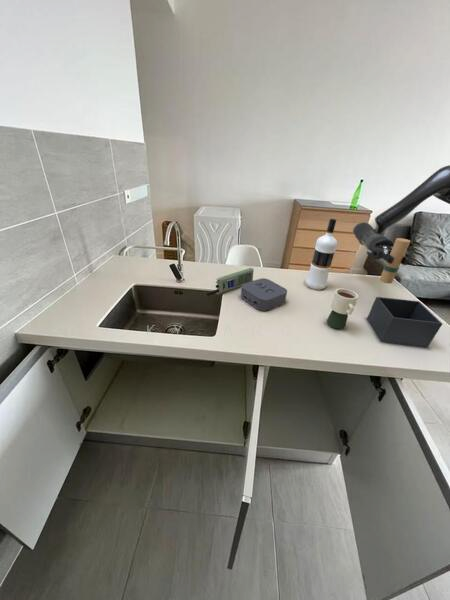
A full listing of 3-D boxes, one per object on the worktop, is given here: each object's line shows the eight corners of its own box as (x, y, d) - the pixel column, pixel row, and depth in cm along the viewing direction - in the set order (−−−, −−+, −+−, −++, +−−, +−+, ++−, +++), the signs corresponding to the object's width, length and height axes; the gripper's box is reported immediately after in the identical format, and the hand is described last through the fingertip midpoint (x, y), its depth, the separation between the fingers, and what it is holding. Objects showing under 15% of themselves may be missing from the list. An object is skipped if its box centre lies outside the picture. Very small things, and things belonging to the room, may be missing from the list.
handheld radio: (253, 282, 111) (209, 298, 97) (248, 280, 113) (205, 295, 99) (254, 269, 108) (209, 283, 94) (249, 267, 110) (204, 281, 96)
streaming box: (288, 302, 98) (290, 291, 95) (262, 313, 90) (263, 301, 88) (263, 287, 108) (264, 277, 105) (237, 296, 100) (238, 285, 97)
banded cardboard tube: (389, 278, 89) (407, 238, 81) (394, 284, 85) (413, 242, 78) (377, 277, 89) (393, 237, 82) (381, 282, 86) (399, 241, 78)
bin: (407, 323, 89) (419, 301, 84) (427, 347, 78) (442, 323, 73) (366, 318, 91) (376, 296, 86) (381, 341, 79) (393, 318, 74)
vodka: (300, 281, 114) (316, 216, 99) (317, 280, 117) (335, 215, 101) (312, 291, 107) (331, 222, 91) (330, 289, 109) (351, 221, 94)
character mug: (352, 334, 82) (366, 302, 75) (332, 334, 81) (344, 302, 75) (338, 316, 91) (348, 285, 84) (319, 316, 91) (329, 285, 84)
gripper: (363, 234, 94) (381, 248, 79) (401, 237, 92) (427, 252, 78) (356, 252, 98) (372, 269, 83) (394, 256, 96) (417, 274, 82)
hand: (399, 261), depth 81 cm, fingers closed on banded cardboard tube, 4 cm apart
